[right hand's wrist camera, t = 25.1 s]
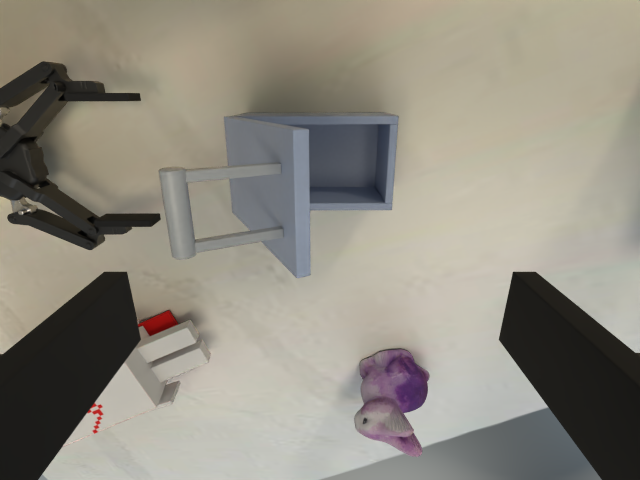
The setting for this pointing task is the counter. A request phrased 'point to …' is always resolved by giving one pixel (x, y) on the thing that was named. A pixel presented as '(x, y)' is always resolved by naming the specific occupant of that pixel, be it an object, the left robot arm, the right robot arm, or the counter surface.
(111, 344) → the right robot arm
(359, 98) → the counter surface
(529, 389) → the counter surface
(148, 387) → the toy
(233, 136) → the lid
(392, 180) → the chest
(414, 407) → the figurine
